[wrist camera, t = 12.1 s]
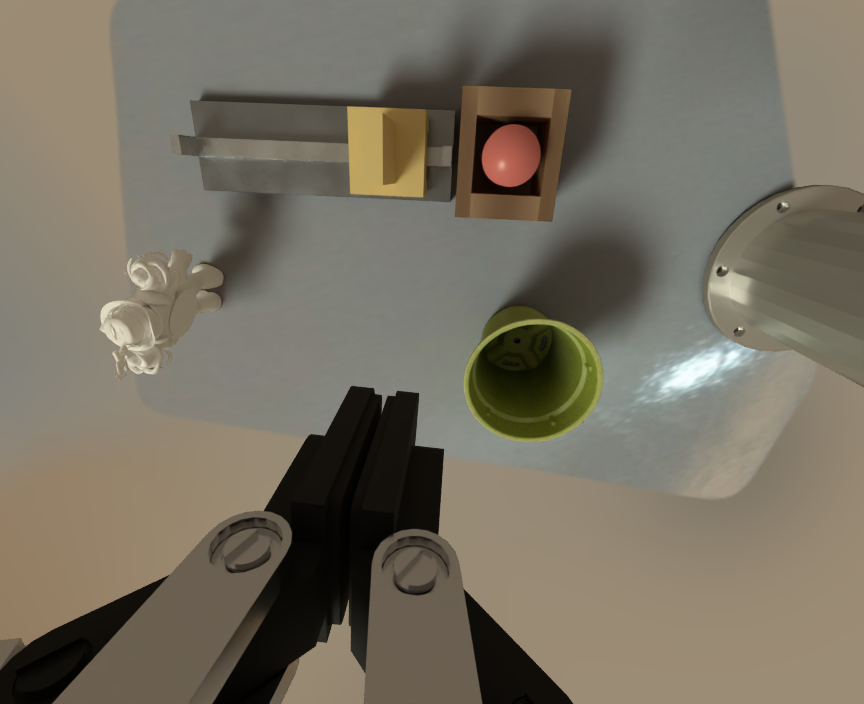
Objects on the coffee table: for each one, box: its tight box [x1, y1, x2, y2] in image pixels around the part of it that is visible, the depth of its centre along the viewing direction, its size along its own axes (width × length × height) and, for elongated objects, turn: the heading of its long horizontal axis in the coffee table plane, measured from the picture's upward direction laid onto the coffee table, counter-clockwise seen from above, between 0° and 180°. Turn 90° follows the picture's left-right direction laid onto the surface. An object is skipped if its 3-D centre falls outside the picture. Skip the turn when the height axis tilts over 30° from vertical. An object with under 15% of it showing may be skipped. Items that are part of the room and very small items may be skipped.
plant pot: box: [464, 306, 603, 442], centre depth 32 cm, size 9×9×9 cm
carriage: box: [347, 106, 429, 197], centre depth 27 cm, size 5×5×8 cm
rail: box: [170, 100, 455, 202], centre depth 30 cm, size 19×6×4 cm, turn 87°
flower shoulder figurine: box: [100, 249, 224, 381], centre depth 31 cm, size 9×4×12 cm, turn 160°
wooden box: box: [455, 86, 572, 222], centre depth 28 cm, size 6×7×7 cm
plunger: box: [480, 124, 541, 187], centre depth 26 cm, size 3×3×5 cm
